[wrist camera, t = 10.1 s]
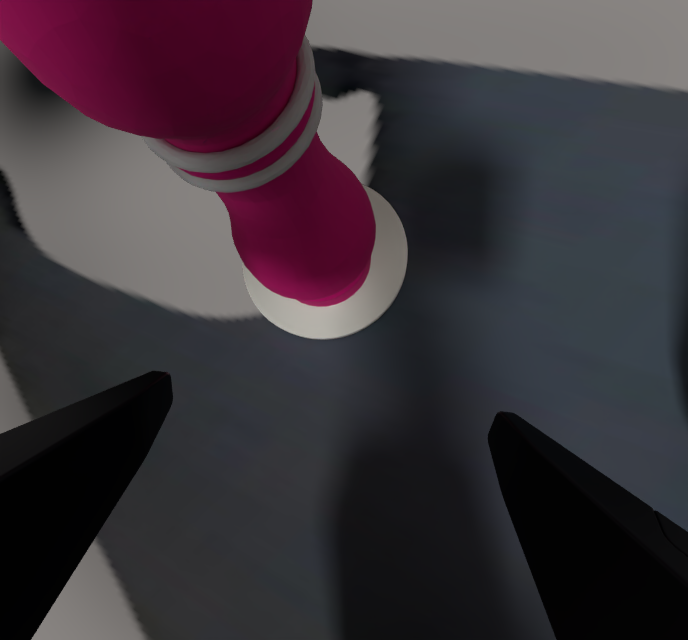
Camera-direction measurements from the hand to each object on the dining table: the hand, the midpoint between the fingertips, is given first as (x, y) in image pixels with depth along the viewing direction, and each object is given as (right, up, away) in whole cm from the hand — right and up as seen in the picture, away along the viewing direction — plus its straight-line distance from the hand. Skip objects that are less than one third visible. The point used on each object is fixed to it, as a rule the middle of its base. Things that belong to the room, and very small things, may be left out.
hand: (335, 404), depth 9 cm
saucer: (-1, +6, +14) cm, 15 cm away
